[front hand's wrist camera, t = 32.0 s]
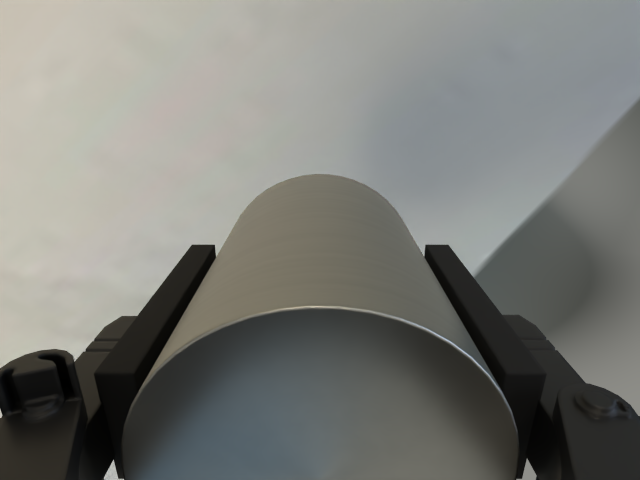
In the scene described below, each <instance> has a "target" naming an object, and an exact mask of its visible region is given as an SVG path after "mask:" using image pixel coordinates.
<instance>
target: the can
mask: <svg viewBox="0 0 640 480" xmlns="http://www.w3.org/2000/svg"><path fill="white" fill-rule="evenodd" d="M519 453H520V451H519V441H518V431H517V427H516V424H515V421H514V417H513V414H512V411H511V408H510V406H509V404H508V402H507V400H506V398H505V396H504V394H503V392H502V390H501V389H500V387H499V385H498V384H497V382H496V380H495V378H494V377H493V375H492V373H491V371H490V370H489V368H488V366H487V365H486V363H485V361H484V359H483V358H482V356H481V354H480V352H479V351H478V349H477V347H476V346H475V344H474V342H473V340H472V339H471V337H470V335H469V333H468V332H467V330H466V328H465V327H464V325H463V323H462V321H461V320H460V318H459V316H458V315H457V313H456V311H455V309H454V308H453V306H452V304H451V302H450V301H449V299H448V297H447V296H446V294H445V292H444V290H443V289H442V287H441V285H440V283H439V282H438V280H437V278H436V277H435V275H434V273H433V271H432V270H431V268H430V266H429V264H428V263H427V261H426V259H425V258H424V256H423V254H422V252H421V251H420V249H419V247H418V246H417V244H416V242H415V240H414V239H413V237H412V235H411V233H410V232H409V230H408V228H407V227H406V225H405V223H404V221H403V220H402V218H401V217H400V215H399V214H398V212H397V211H396V209H395V208H394V207H393V206H392V205H391V204H390V203H389V202H388V201H387V200H386V199H385V198H384V197H383V196H382V195H380V194H379V193H378V192H377V191H375V190H373V189H372V188H370V187H368V186H367V185H365V184H362V183H360V182H358V181H355V180H353V179H349V178H346V177H342V176H336V175H329V174H313V175H304V176H299V177H295V178H291V179H288V180H285V181H283V182H280V183H278V184H276V185H274V186H272V187H270V188H269V189H267V190H265V191H264V192H263V193H261V194H260V195H259V196H257V197H256V198H255V199H254V200H253V201H252V202H251V203H250V204H249V205H248V206H247V207H246V209H245V210H244V211H243V213H242V214H241V215H240V217H239V219H238V221H237V222H236V224H235V226H234V227H233V229H232V231H231V233H230V234H229V236H228V238H227V240H226V241H225V243H224V245H223V246H222V248H221V250H220V252H219V253H218V255H217V257H216V259H215V260H214V262H213V264H212V265H211V267H210V269H209V271H208V272H207V274H206V276H205V278H204V279H203V281H202V283H201V284H200V286H199V288H198V290H197V291H196V293H195V295H194V297H193V298H192V300H191V302H190V303H189V305H188V307H187V309H186V310H185V312H184V314H183V316H182V317H181V319H180V321H179V322H178V324H177V326H176V328H175V329H174V331H173V333H172V335H171V336H170V338H169V340H168V341H167V343H166V345H165V347H164V348H163V350H162V352H161V354H160V355H159V357H158V359H157V360H156V362H155V364H154V366H153V367H152V369H151V371H150V373H149V374H148V376H147V378H146V379H145V381H144V383H143V385H142V386H141V388H140V390H139V392H138V394H137V395H136V397H135V399H134V401H133V403H132V404H131V407H130V410H129V412H128V415H127V418H126V421H125V424H124V429H123V436H122V442H121V465H122V471H123V476H124V480H516V478H517V474H518V466H519Z"/></svg>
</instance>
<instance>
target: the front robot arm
mask: <svg viewBox="0 0 640 480" xmlns="http://www.w3.org/2000/svg"><path fill="white" fill-rule="evenodd" d="M424 258H425V259H426V261H427V263H428V264H429V266H430V268H431V270H432V271H433V273H434V275H435V277H436V278H437V280H438V282H439V283H440V285H441V287H442V289H443V290H444V292H445V294H446V296H447V297H448V299H449V301H450V302H451V304H452V306H453V308H454V309H455V311H456V313H457V315H458V316H459V318H460V320H461V321H462V323H463V325H464V327H465V328H466V330H467V332H468V333H469V335H470V337H471V339H472V340H473V342H474V344H475V346H476V347H477V349H478V351H479V352H480V354H481V356H482V358H483V359H484V361H485V363H486V365H487V366H488V368H489V370H490V371H491V373H492V375H493V377H494V378H495V380H496V382H497V384H498V385H499V387H500V389H501V390H502V392H503V394H504V396H505V398H506V400H507V402H508V404H509V406H510V408H511V411H512V414H513V417H514V421H515V424H516V427H517V431H518V441H519V451H520V453H519V466H518V474H517V478H516V479H522V476H523V472H524V467H525V463H526V459H528V460H529V462H530V464H531V466H532V468H533V470H534V471H535V473H536V475H537V477H536V480H640V416H638V415H637V414H636V412H635V411H634V409H633V408H632V407H631V405H630V404H628V403H627V402H626V401H625V400H623V399H622V398H621V397H619V396H618V395H616V394H614V393H612V392H610V391H608V390H606V389H604V388H601V387H598V386H595V385H592V384H586V383H585V382H584V381H583V379H582V378H581V377H580V376H579V375H578V374H577V373H576V371H575V370H574V369H573V368H572V367H571V366H570V365H569V363H568V362H567V361H566V360H565V359H564V358H563V356H562V355H561V354H560V353H559V352H558V351H557V350H555V347H554V346H553V345H552V344H551V343H550V342H549V340H546V337H545V336H544V335H543V333H542V332H541V331H540V330H539V329H538V328H537V327H536V325H534V324H532V323H531V322H529V321H528V320H526V319H524V318H523V317H521V316H520V315H502V314H501V313H500V312H499V310H498V309H497V308H496V306H495V305H494V304H493V303H492V301H491V300H490V299H489V297H488V296H487V295H486V293H485V292H484V291H483V290H482V288H481V287H480V286H479V284H478V283H477V282H476V280H475V279H474V278H473V276H472V275H471V274H470V273H469V271H468V270H467V269H466V267H465V266H464V265H463V263H462V262H461V261H460V260H459V258H458V257H457V256H456V254H455V253H454V252H453V250H452V249H451V248H450V246H449V245H426V246H425V256H424ZM215 259H216V253H215V245H192V246H191V247H190V248H189V249H188V251H187V252H186V253H185V255H184V256H183V257H182V259H181V260H180V261H179V262H178V264H177V265H176V266H175V268H174V269H173V270H172V272H171V273H170V274H169V276H168V277H167V278H166V279H165V281H164V282H163V283H162V285H161V286H160V287H159V289H158V290H157V291H156V293H155V294H154V295H153V296H152V298H151V299H150V300H149V302H148V303H147V304H146V306H145V307H144V308H143V309H142V311H141V312H140V313H139V315H138V316H121V317H120V318H118V319H117V320H115V321H113V322H112V323H110V324H109V325H107V326H105V327H104V329H103V330H102V331H101V332H100V333H99V334H98V336H97V337H96V338H95V341H92V343H91V344H90V345H89V346H88V347H87V348H86V352H83V353H82V354H81V355H80V356H79V358H78V359H77V360H76V361H75V362H74V359H73V355H71V354H70V353H68V352H67V351H64V350H57V349H51V350H41V351H37V352H33V353H30V354H26V355H24V356H21V357H19V358H17V359H15V360H13V361H10V362H9V363H7V364H6V365H5V366H3V367H2V368H0V409H1V412H2V415H3V416H2V418H0V480H104V476H105V474H106V472H107V470H108V469H109V467H110V465H111V463H112V461H113V459H114V462H115V466H116V471H117V475H118V479H124V476H123V471H122V465H121V442H122V436H123V429H124V424H125V421H126V418H127V415H128V412H129V410H130V407H131V404H132V403H133V401H134V399H135V397H136V395H137V394H138V392H139V390H140V388H141V386H142V385H143V383H144V381H145V379H146V378H147V376H148V374H149V373H150V371H151V369H152V367H153V366H154V364H155V362H156V360H157V359H158V357H159V355H160V354H161V352H162V350H163V348H164V347H165V345H166V343H167V341H168V340H169V338H170V336H171V335H172V333H173V331H174V329H175V328H176V326H177V324H178V322H179V321H180V319H181V317H182V316H183V314H184V312H185V310H186V309H187V307H188V305H189V303H190V302H191V300H192V298H193V297H194V295H195V293H196V291H197V290H198V288H199V286H200V284H201V283H202V281H203V279H204V278H205V276H206V274H207V272H208V271H209V269H210V267H211V265H212V264H213V262H214V260H215Z"/></svg>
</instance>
